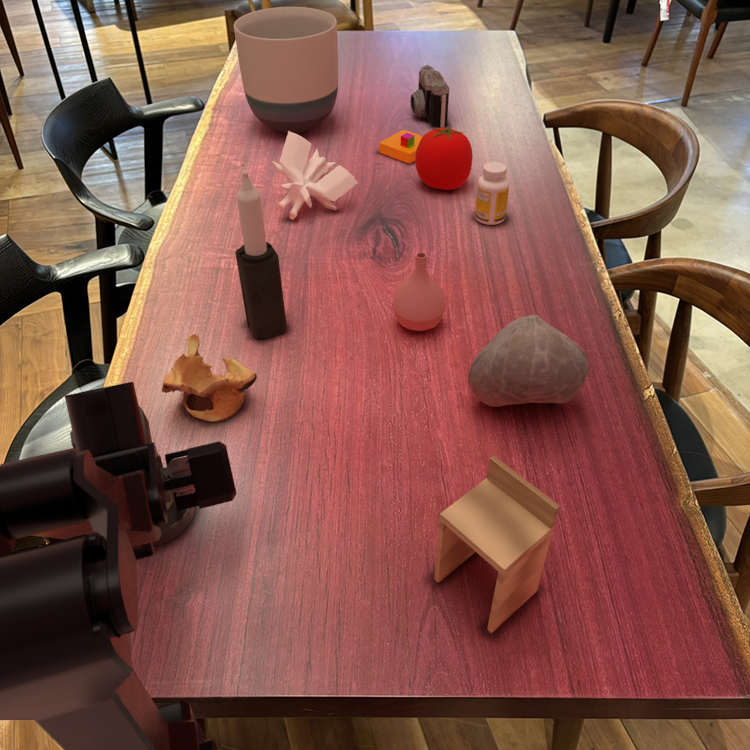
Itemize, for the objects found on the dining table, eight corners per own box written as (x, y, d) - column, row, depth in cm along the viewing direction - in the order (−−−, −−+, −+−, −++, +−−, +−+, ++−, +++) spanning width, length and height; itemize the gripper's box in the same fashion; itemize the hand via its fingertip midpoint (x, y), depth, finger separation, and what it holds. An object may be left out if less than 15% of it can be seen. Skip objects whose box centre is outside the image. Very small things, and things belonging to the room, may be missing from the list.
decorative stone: (567, 373, 98) (588, 284, 87) (592, 429, 90) (618, 338, 80) (458, 383, 97) (467, 293, 86) (475, 440, 89) (486, 349, 79)
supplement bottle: (504, 210, 130) (510, 160, 123) (505, 226, 126) (512, 175, 119) (474, 209, 130) (479, 158, 123) (474, 225, 126) (479, 173, 119)
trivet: (162, 558, 77) (158, 547, 76) (97, 528, 80) (92, 518, 79) (211, 497, 83) (208, 486, 82) (148, 471, 86) (144, 460, 84)
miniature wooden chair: (491, 633, 70) (508, 550, 61) (434, 579, 75) (441, 493, 65) (537, 591, 74) (560, 505, 64) (479, 541, 78) (493, 454, 68)
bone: (166, 431, 91) (152, 384, 85) (173, 379, 98) (160, 331, 92) (262, 423, 92) (253, 375, 86) (262, 371, 99) (254, 324, 93)
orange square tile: (379, 152, 147) (378, 132, 144) (403, 139, 151) (403, 119, 148) (409, 164, 143) (410, 143, 140) (433, 150, 148) (434, 130, 145)
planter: (234, 142, 151) (217, 35, 136) (266, 104, 166) (254, 4, 151) (327, 151, 148) (320, 42, 133) (351, 111, 162) (347, 9, 147)
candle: (245, 321, 107) (218, 165, 90) (277, 312, 108) (257, 157, 91) (256, 341, 103) (230, 183, 86) (289, 332, 105) (270, 174, 88)
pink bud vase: (441, 343, 103) (446, 273, 95) (388, 337, 104) (389, 268, 96) (446, 310, 108) (451, 242, 100) (396, 305, 109) (397, 237, 101)
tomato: (455, 203, 132) (459, 148, 124) (405, 189, 136) (406, 134, 128) (480, 179, 138) (485, 125, 131) (431, 167, 142) (434, 113, 135)
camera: (403, 104, 165) (404, 59, 158) (431, 101, 166) (433, 56, 159) (419, 131, 154) (421, 84, 147) (449, 128, 155) (452, 81, 148)
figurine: (311, 250, 134) (348, 195, 139) (328, 227, 123) (367, 169, 128) (243, 202, 131) (284, 148, 136) (254, 174, 121) (298, 116, 125)
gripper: (213, 390, 67) (215, 395, 82) (0, 436, 63) (44, 432, 78) (239, 507, 67) (236, 490, 82) (27, 560, 63) (66, 532, 78)
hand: (147, 484), depth 80 cm, fingers closed on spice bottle, 5 cm apart
